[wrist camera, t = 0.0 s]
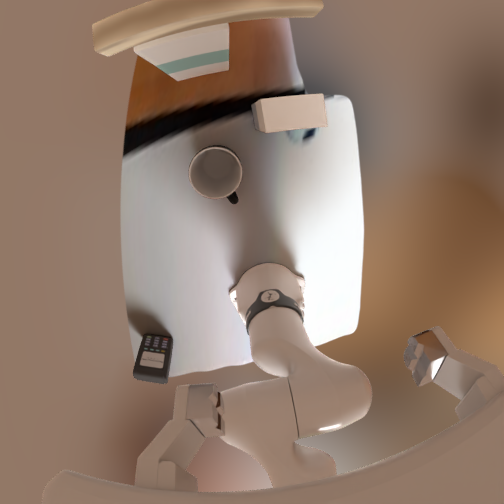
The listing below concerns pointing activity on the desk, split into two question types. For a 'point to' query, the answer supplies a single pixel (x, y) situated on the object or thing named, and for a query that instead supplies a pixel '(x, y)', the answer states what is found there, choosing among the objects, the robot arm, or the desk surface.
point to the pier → (289, 113)
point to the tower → (189, 52)
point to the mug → (216, 173)
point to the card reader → (153, 359)
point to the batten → (187, 19)
